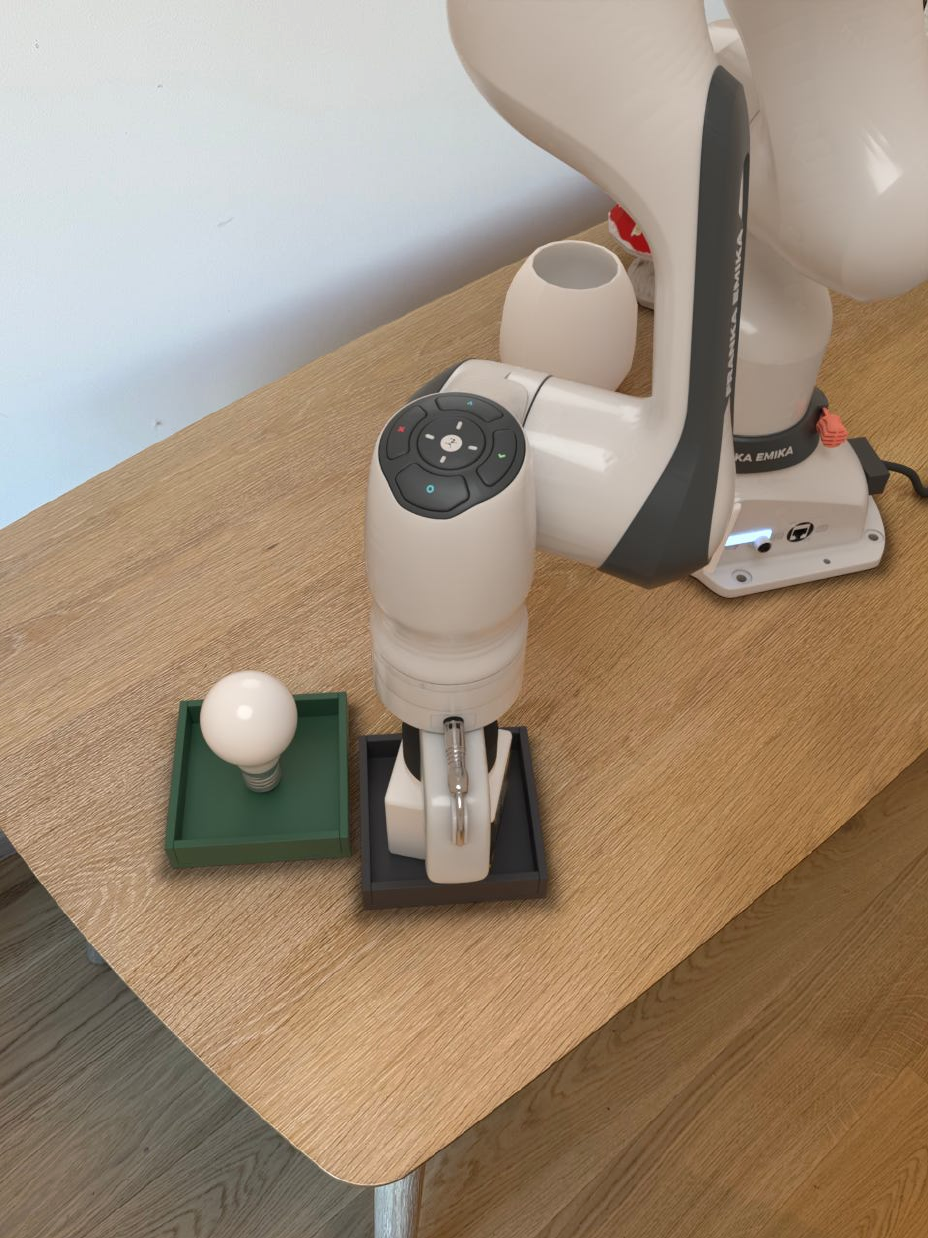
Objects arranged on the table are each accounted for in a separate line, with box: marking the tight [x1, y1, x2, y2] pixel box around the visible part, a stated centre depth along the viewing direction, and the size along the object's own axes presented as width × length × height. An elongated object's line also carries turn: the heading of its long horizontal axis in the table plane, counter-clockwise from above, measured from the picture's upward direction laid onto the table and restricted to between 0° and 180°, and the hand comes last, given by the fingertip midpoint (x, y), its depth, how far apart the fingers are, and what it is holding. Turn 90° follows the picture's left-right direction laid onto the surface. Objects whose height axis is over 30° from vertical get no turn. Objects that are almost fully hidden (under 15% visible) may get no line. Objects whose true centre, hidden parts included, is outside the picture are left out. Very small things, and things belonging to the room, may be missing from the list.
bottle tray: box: [357, 725, 549, 911], centre depth 76 cm, size 12×12×3 cm
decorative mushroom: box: [607, 203, 655, 311], centre depth 115 cm, size 14×14×15 cm
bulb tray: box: [163, 691, 352, 869], centre depth 78 cm, size 12×12×3 cm
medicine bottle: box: [385, 719, 512, 870], centre depth 72 cm, size 7×7×12 cm
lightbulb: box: [200, 669, 298, 792], centre depth 75 cm, size 6×6×11 cm
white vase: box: [498, 239, 639, 392], centre depth 105 cm, size 13×13×14 cm
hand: (446, 783), depth 74 cm, fingers closed on medicine bottle, 8 cm apart
